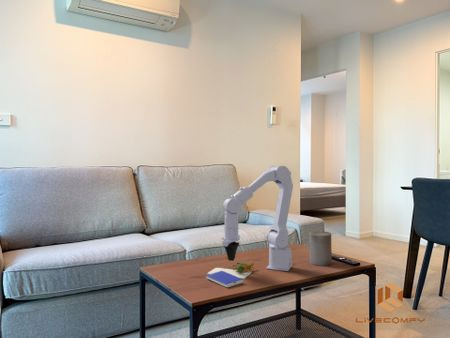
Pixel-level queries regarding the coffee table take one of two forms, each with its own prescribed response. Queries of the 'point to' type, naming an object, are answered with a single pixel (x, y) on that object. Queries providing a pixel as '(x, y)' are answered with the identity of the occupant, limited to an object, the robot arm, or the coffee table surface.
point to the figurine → (243, 267)
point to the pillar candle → (320, 248)
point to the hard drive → (224, 278)
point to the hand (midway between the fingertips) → (231, 260)
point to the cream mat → (231, 272)
